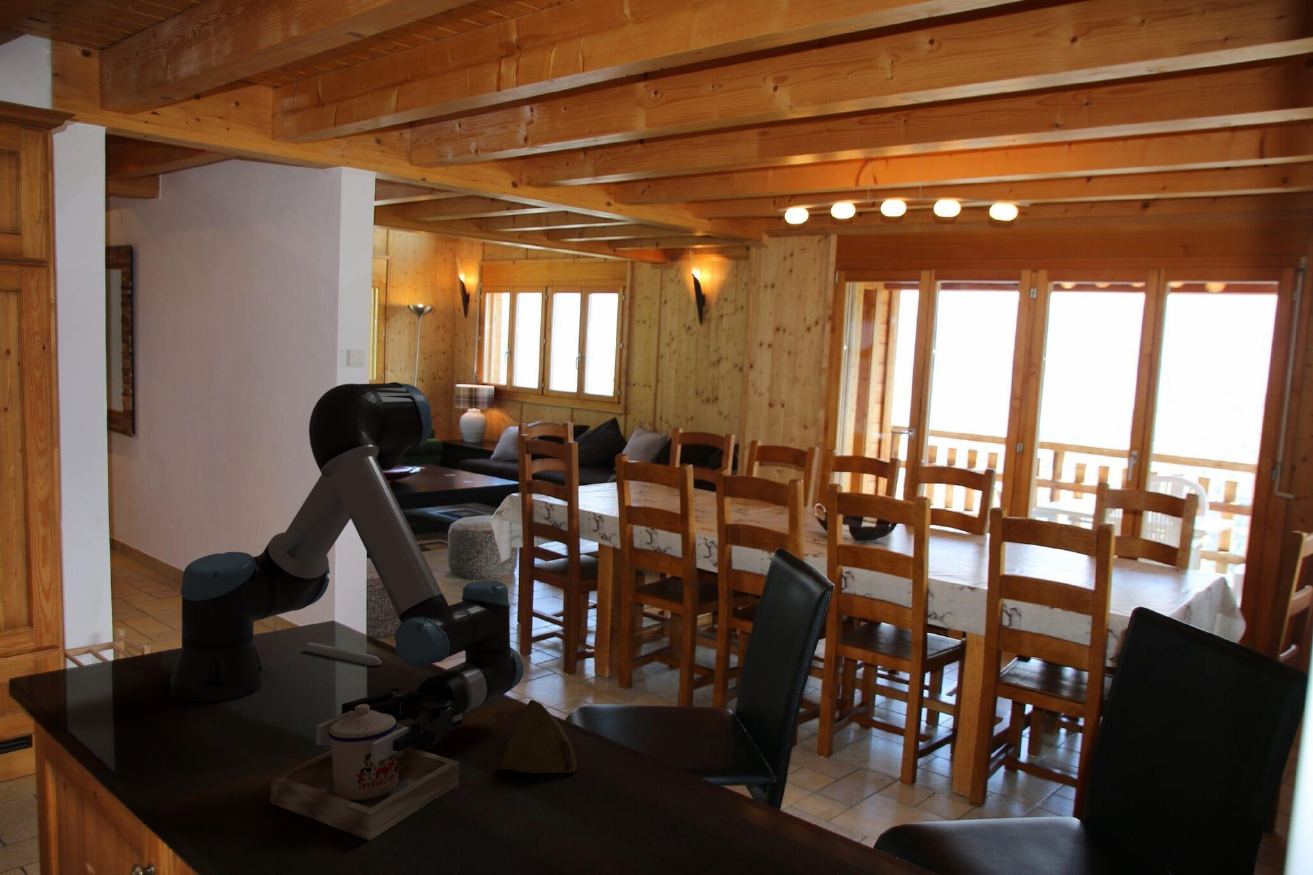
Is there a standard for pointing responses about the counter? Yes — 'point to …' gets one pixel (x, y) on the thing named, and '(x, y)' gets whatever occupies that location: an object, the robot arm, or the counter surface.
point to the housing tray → (316, 799)
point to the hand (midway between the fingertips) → (345, 744)
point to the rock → (539, 744)
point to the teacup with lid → (362, 755)
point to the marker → (342, 654)
